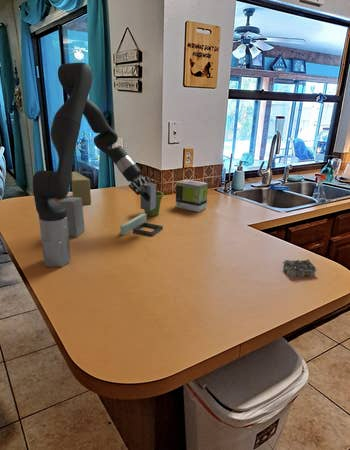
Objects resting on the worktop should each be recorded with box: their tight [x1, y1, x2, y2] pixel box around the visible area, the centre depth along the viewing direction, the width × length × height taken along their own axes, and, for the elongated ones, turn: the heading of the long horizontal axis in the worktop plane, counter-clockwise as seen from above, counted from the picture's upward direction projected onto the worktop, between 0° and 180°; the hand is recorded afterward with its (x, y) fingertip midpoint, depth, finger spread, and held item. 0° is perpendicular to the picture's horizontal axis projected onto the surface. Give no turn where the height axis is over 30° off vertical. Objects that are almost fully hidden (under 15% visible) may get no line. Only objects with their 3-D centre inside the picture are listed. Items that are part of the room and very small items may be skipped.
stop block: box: [140, 182, 157, 210], centre depth 149 cm, size 5×5×11 cm
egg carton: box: [282, 259, 318, 278], centre depth 122 cm, size 11×8×4 cm
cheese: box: [71, 171, 92, 206], centre depth 192 cm, size 22×10×15 cm, turn 26°
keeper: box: [132, 222, 164, 237], centre depth 155 cm, size 10×10×2 cm
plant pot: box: [143, 190, 164, 217], centre depth 175 cm, size 12×12×11 cm
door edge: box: [119, 212, 148, 236], centre depth 157 cm, size 20×2×4 cm, turn 155°
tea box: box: [175, 179, 209, 213], centre depth 187 cm, size 15×10×15 cm
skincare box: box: [59, 196, 85, 238], centre depth 146 cm, size 8×7×16 cm
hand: (151, 198), depth 149 cm, fingers closed on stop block, 5 cm apart
